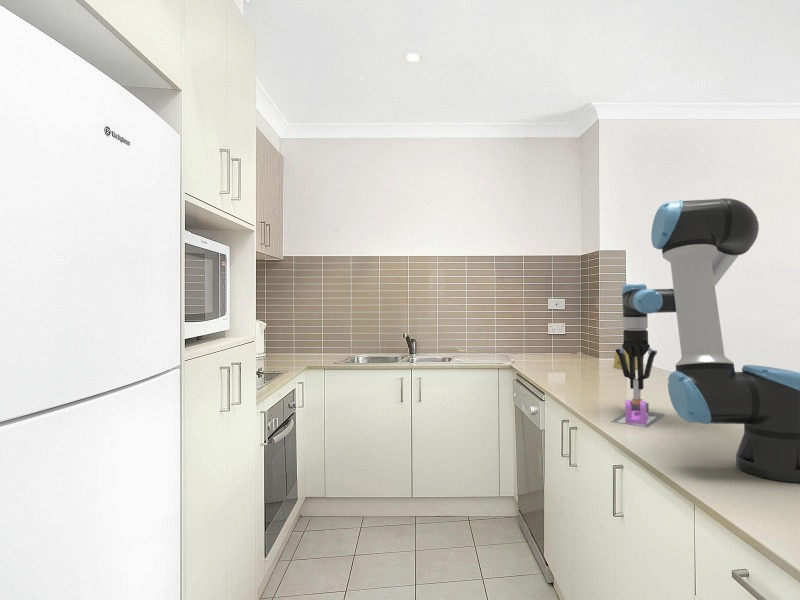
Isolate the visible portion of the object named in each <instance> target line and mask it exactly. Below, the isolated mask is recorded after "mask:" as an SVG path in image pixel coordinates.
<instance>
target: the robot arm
mask: <svg viewBox="0 0 800 600" xmlns="http://www.w3.org/2000/svg"><path fill="white" fill-rule="evenodd" d="M653 217H654V218H653V221H652V226H651V233H650V234H651V236H650V237H651V238H650V239H651V244H652V247H653V248H655V249H657V250H661V254H662V258H663V259H664V260H666V261H668V262H669V263H670V270H671V277H672V278H671V280H672V288H654V289H653V288H648V287H647V285H646V284H645V283H633V284H632V283H627V284H624V285H623V286H622V292H621V297H622V323H623V325H622V328H623V329H624V330H623V332H622V333H623V343H622V346H621V347H619V348H617V349H615V354H616V353H617V354H618V356H619V359H620V363H621V366H622V369H621V370H622V373H623V376H624V377H625V378H628V379H629V382H630V383H629V385H630V386H629V388H630V389H632V390H633V392H632V394H633V399H637V400H639V399H642V398H641V396H642V395H641V393H642V392H641V390H644V387H645V386H644V380H646V379H649V378H650V376H651V371H652V368H653V363H654V361H655V360H654V359H655V357H656V355H657V354H658V350H657V349H655V350H654V349H653V348H652V347H651V345H650V344H649V331H648V330H647V329H648V327H649V326H648V325H649V323H648V315H649V314H655V313H656V314H659V313H664V314H665V313H666V314H667V313H676V319H677V320H676V321H677V328H678V337H679V338H678V339H679V344H680V354H681V358H680V359H679V361H678V362H676V363H675V370H674V371H673V372H671V373H670V374H669V375H668V378H667V381H668V383H667V389H668V390H667V391H668V394H669V398H670V402H671V404H672V408H673V409H674V410H675V412H676V414H677V415H678V416H679V418H681V419H682V420H683V421H686V422H687V423H693V424H703V425H710V424H715V425H716V424H717V425H718V424H721V425H722V424H723V425H724V424H726V425H729V424H730V425H743V430H744V433H743V436H742V438H741V441H740V443H739V446H738V449H737V451H736V454H735V464H736V467H737V468H738V469H739V470H741V471H743V472H745V473H748V474H749V475H754V476H757V477H760V478H764V479H767V480H768V479H769V480H773V481H780V482H789V483H799V484H800V372H798V371H794V370H790V369H783V368H777V367H772V366H771V367H770V366H766V365H765V366H763V365H755V364H754V365H753V364H744V365H743V366H742V368H741V371H736V370H735V369H736V368H735V363H734V362H733V361H732V360H731V359H730V358H727V357H726V354H725V349H724V342H723V335H722V328H721V321H720V313H719V307H718V300H717V291H716V285H717V284H718V283H719V281H721V279H722V278H723V276H724V275H726V273H727V271H728V270H729V269H730V268H731V266H732V265H733V263H734V262H735V261H736V260H737V258H738V257H739V256H741V255H744V254H746V253H747V252H748V251H750V249H751V248H752V246H753V245H754V243H755V242H756V240H757V238H758V235H759V229H760V227H759V221H758V217H757V215H756V213H755V212H754V210H753V209H752V208H751V207H750V206H749V205H748V204H747V203H744V202H742V201H741V200H738V199H734V198H730V197H729V198H727V197H724V198H713V199H695V200H694V199H693V200H683V199H679V200H676V201H668V202H667V201H666V202H663V204H661V205H660V206H659V207H658V209H657V210H656V212H655V215H654V216H653ZM624 350H625V351H626V353H627V354H628V355H629V369H628V366H627V362H626V358H625V355H624ZM647 352H648V353H647ZM646 353H647V355H648V357H647V361H646V364H645V369H644V356H645V355H646ZM636 357H637V367H638V369H637V376H636V369H635V358H636Z"/></svg>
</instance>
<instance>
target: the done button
mask: <svg viewBox="0 0 800 600" xmlns="http://www.w3.org/2000/svg"><path fill="white" fill-rule="evenodd" d="M631 401H632V404H635V405H640V401H644V400H643V399H642V398H640V399H639V400H637V399H634V398H631Z"/></svg>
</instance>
